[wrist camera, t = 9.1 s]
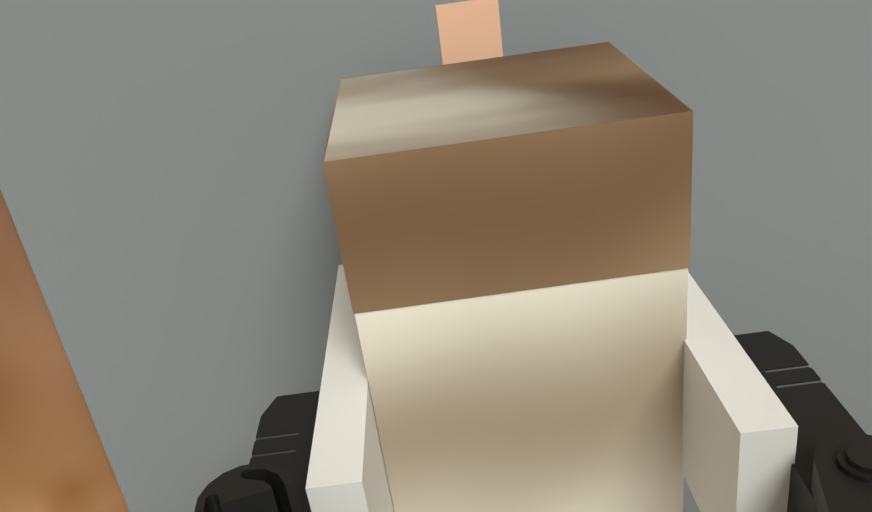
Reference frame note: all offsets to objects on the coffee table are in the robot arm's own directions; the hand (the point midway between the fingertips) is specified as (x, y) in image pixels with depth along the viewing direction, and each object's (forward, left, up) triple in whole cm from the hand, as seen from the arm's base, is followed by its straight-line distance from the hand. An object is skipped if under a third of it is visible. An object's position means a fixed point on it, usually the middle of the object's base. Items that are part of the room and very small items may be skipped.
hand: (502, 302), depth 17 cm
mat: (0, 0, -2) cm, 2 cm away
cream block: (0, 0, 0) cm, 0 cm away
